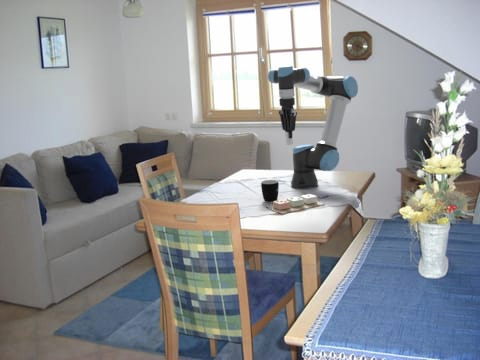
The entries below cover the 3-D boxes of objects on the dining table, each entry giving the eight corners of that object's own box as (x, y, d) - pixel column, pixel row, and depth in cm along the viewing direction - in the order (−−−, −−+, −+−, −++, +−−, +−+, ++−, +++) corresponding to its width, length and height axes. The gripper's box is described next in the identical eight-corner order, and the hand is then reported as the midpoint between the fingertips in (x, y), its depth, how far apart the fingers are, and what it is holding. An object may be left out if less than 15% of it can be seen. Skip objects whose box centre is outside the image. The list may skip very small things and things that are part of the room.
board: (308, 199, 290) (308, 198, 290) (324, 204, 278) (324, 203, 278) (266, 207, 279) (266, 206, 279) (281, 214, 267) (281, 213, 267)
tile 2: (297, 202, 282) (296, 196, 282) (303, 204, 277) (303, 198, 276) (287, 204, 280) (286, 198, 279) (293, 207, 274) (293, 200, 274)
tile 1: (310, 199, 286) (310, 193, 285) (317, 202, 281) (316, 195, 280) (300, 201, 283) (300, 195, 283) (307, 204, 278) (307, 197, 277)
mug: (279, 202, 287) (278, 183, 285) (262, 203, 287) (261, 184, 285) (278, 196, 299) (277, 178, 296) (261, 197, 299) (260, 178, 297)
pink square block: (283, 205, 279) (283, 199, 278) (290, 207, 274) (290, 201, 273) (273, 207, 276) (273, 201, 275) (279, 210, 271) (279, 203, 270)
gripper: (273, 97, 282) (276, 143, 288) (288, 99, 271) (290, 147, 277) (285, 96, 286) (288, 141, 291) (300, 97, 275) (303, 144, 280)
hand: (289, 144), depth 284 cm, fingers closed
